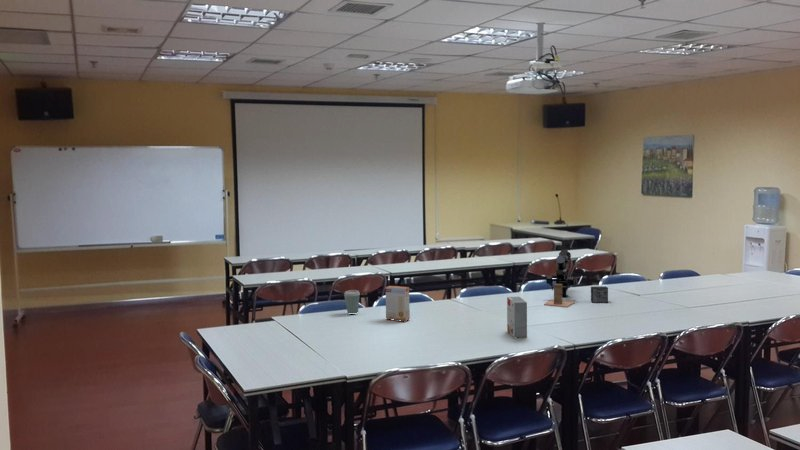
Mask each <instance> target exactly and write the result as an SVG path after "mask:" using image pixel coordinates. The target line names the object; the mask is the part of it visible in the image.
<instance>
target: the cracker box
mask: <svg viewBox="0 0 800 450" xmlns="http://www.w3.org/2000/svg"><path fill="white" fill-rule="evenodd" d="M386 318H387V319H394V320H401V321H406V322H408V321H407V320H409V319H410V318H411V315H410V287H409V286H399V285H388V286H385V319H386ZM410 320H411V319H410ZM410 320H409V321H410ZM401 321H400V322H401Z"/></svg>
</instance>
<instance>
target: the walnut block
mask: <svg viewBox="0 0 800 450" xmlns="http://www.w3.org/2000/svg"><path fill="white" fill-rule="evenodd" d="M553 300H554V304H562V301H563V297H562V284H556V283H553Z"/></svg>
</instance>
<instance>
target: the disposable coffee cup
mask: <svg viewBox="0 0 800 450" xmlns="http://www.w3.org/2000/svg"><path fill="white" fill-rule="evenodd" d="M360 295H361V293H360V291H359V290H357V289H349V290H346V291H344V293H343V296H344V302H345V308H346V311H347V314H348V313H357V312H358V313H359V305H360V297H361V296H360Z"/></svg>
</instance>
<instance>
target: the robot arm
mask: <svg viewBox="0 0 800 450" xmlns="http://www.w3.org/2000/svg"><path fill="white" fill-rule="evenodd" d="M571 258H572V253H571V252H570V251H569V250H568V249H561V250H560V252H558V255H557V257H556V259H555V264H556V267H557V268H556V270H555V277H554V278H553V276H552V275H547V276H546V277H545V280H546V284H548V285H549V286H550V288H551V291H554V282H555V284H562V298H567V297H568V296H569V294H567V291H568V289H570V287H571V286H573V285H575V277H574V276H568V275H567V270H568V265H569V264H570V263H571V262H570V261H571V260H572V259H571Z"/></svg>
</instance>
